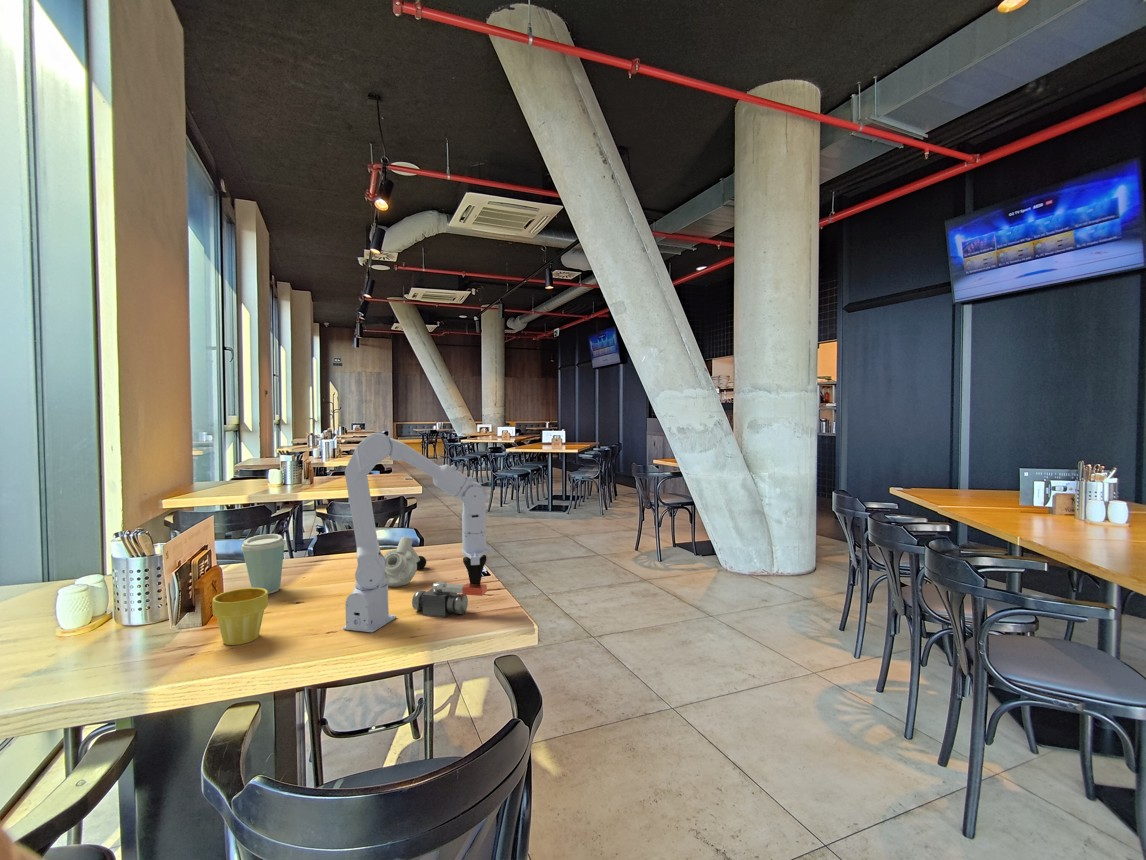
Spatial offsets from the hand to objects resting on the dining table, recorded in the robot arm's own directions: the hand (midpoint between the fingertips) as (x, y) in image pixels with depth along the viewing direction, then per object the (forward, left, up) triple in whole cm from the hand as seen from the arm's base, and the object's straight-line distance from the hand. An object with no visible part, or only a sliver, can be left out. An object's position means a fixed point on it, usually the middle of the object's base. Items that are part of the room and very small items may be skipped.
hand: (475, 586), depth 134 cm
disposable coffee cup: (-1, +63, -6) cm, 63 cm away
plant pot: (-28, +42, -6) cm, 51 cm away
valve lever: (-3, +3, -1) cm, 4 cm away
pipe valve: (-3, +8, -6) cm, 10 cm away
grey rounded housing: (+20, +32, -6) cm, 38 cm away
